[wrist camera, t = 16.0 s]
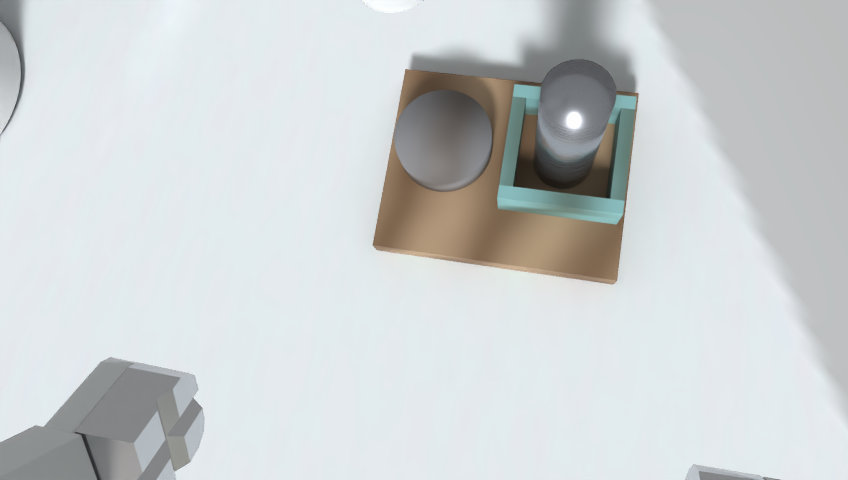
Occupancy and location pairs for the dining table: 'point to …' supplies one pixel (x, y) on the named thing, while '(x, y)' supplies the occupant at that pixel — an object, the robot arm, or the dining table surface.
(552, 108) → the pin
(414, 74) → the nut block
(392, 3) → the mug
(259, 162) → the dining table surface
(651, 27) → the dining table surface
